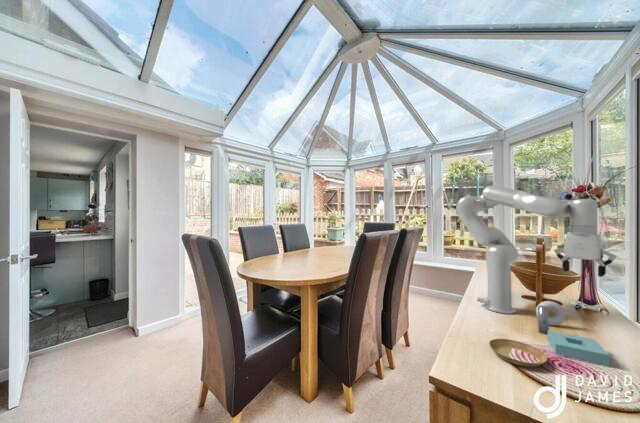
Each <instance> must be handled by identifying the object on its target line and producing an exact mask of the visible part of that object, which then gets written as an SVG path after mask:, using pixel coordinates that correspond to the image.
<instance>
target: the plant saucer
mask: <svg viewBox="0 0 640 423" xmlns="http://www.w3.org/2000/svg"><path fill="white" fill-rule="evenodd" d="M488 346H489V347H490V348H491V351H493V352H494V354H496V356H497V357H499V358H501V359H502V360H504V361H505V362H507V363H510V364H512V365H516V366H519V367H523V366H524V367H525V368H536V367H539V366H541V365H543V364H546V362H547V361H548V356H547V355H546V354H545V353H544V352H543V351H542V350H540V349H538V348H536V347H534V346H533V345H530V344H528V343H525V342H521V341H519V340H513V339H507V338H494V339H491V340H489V342H488ZM512 348H513V349H518V350H521V351H523V352H526V353H528V354H531V355H533V356H535V357H536V358H537V359H538V360H539V363H529V362H524V361H519V360H515V359H512V358H511V357H510V356H509V353H510V351H511V349H512ZM525 361H526V360H525Z"/></svg>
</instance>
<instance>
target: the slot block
mask: <svg viewBox="0 0 640 423" xmlns="http://www.w3.org/2000/svg"><path fill="white" fill-rule="evenodd" d="M547 333H548V334H547V341H548V343H549V345H550V347H551V348H553V349H552V351H553V350H554V351H553V353H554V354H555V353H556V354H559V355H564V356H568V357H572V358H575V359H574V360H577V359H579V360H578V361H581V360H584V361H583V362H585V361H588V362H587V363H590V362H592V363H591V364H596V365H598V366H599V365H600V366H604V367H608V368H610V366H611V365H610V364H611V363H610V354H609V353H608V352H607V351H606V350H605V349H604V348H603V347H602V346H601V344H600V343H598V341H596V339H595V338H589V337H585V336H580V335H574V334H570V333H564V332H558V331H553V330H550V329H549V330H547ZM556 354H555V355H556ZM559 355H558V356H559ZM564 356H563V357H564ZM568 357H567V358H568ZM572 358H571V359H572Z"/></svg>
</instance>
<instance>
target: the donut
mask: <svg viewBox="0 0 640 423" xmlns="http://www.w3.org/2000/svg"><path fill="white" fill-rule="evenodd" d="M538 306H545V307H548V311H550V310H552V311H553V312H554V315H553V316H549V326H559V325H562V324H563V323H564V322H565V320H566V318H567V313H566V310H565V309H564V307H563V306H562V305H560V304H559V303H558V302H555V301H551V300H544V301H541V302H540V303H539V304H537V306H536V308H535V315H536V317H537V318H538Z"/></svg>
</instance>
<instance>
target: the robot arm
mask: <svg viewBox="0 0 640 423" xmlns="http://www.w3.org/2000/svg"><path fill="white" fill-rule="evenodd" d="M498 205H501V206H505V207H508V208H509V207H510V208H513V209H517V210H521V211H525V212H529V213H533V214H536V215H539V216H544V217H548V218H567V217H569V225H568V226H565V227H564V230H565V231H568V232H566V234H565V237H564V238H565V239H564V244H563V246H562V247H558V248H555V249H553V251H554V253H555V255H556V257H558V258H559V259H560V261H561V262H562V269H563V271H564V272H569V271H570V261H569V260H570V259H576V260H577V259H578V260H587V261H595V263H597V264H598V266H597V276H598V277H605V276H606V272H607V271H606V269H607V268H606V267H607V266H608V265H610V264H612V263H613V262H614V261H615V260H616V259H617V257H618V255H616V254H613V253H611V252H609V251H606V250H605V249H603V242H602V237H601V235H600V234H598V202H597V200H596V199H593V198H584V199H583V198H581V199H580V198H577V199H572V200H566V199H558V198H557V199H556V198H552V197H551V198H550V197H547V196H540V195H537V194H531V193H529V192H526V191H524V190H520V189H514V188H509V187H504V186H500V185H488V186H486V187H485V188H484V189H483V190H482V192H481V195H479V196H474V195H466V196H463V197H461V198H460V199H459V200H458V201H457V202H456V206H455V211H456V215H457V217H458V219H459V220H460V222H461V223H462V224H463V225H464V226H465V228H466V229H467V231H468V232H469V233H470V234H471V236H472V238H474V240H475V241H476V243H478V244H479V245H481V246H489V247H488V248H487V250H486V252H485V262H486V268H487V273H486V274H487V296H486V297H485V298H483V297H477V298H476V300H477V302H479V303H481V304H483V307H484V308H485V309H486V310H489V311H490V312H491V311H492V312H494V313H498V314H499V313H500V314H505V315H507V314H509V315H512V314H513V315H514V314H516V313H517V310H516V308H515V307H513V306H512V303H513V302H512V271H511V265H510V263H513V262H515V261H516V260H518V257H519V251H518V249H517V248H516V246H515V245H514V244H513V243H512V242H511V240H510V239H509V238H508V237H507V236H506V235H505V234H504V232H502V230H500V229H499V228H497V227H495V226H494V227H493V226H488V225H487V223H486V222H485V221H484V220H483V219H482V218H481V216H479V215H478V214H477V213H478V212H479V213H480V212H483V211H486V210H488V209H491V208H493V207H495V206H498ZM562 251H563V254H562V253H561V252H562ZM604 255H605V256H607V257H608V259H607V260H604V259H603V258H604Z"/></svg>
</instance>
